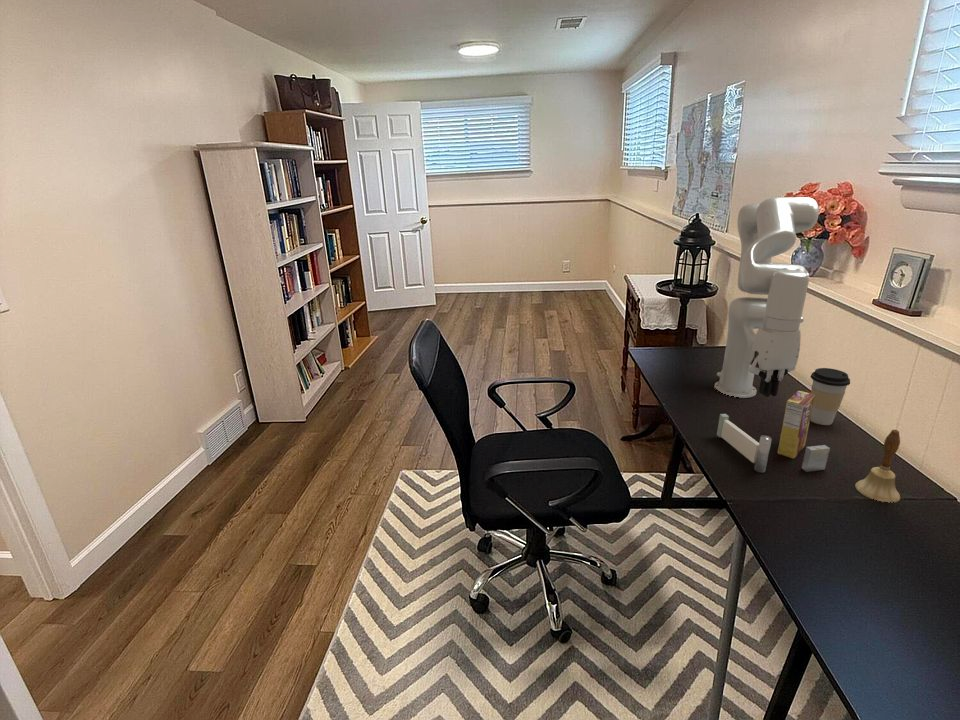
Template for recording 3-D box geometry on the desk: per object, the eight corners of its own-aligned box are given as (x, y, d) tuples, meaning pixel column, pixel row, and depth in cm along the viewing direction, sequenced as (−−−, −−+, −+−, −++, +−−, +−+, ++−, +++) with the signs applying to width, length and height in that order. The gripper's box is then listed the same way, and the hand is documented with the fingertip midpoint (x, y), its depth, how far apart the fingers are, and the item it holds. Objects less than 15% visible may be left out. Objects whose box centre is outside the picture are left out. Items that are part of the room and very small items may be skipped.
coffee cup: (845, 429, 143) (858, 380, 138) (808, 426, 145) (819, 378, 140) (831, 414, 152) (842, 367, 146) (796, 412, 153) (806, 366, 148)
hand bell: (907, 505, 111) (928, 442, 105) (862, 499, 113) (881, 437, 108) (890, 484, 118) (909, 423, 113) (849, 479, 121) (866, 419, 115)
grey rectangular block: (801, 468, 125) (806, 446, 123) (819, 465, 126) (824, 444, 124) (806, 471, 124) (811, 450, 122) (824, 469, 125) (830, 448, 123)
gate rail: (758, 463, 127) (762, 441, 124) (752, 464, 126) (756, 441, 124) (722, 434, 141) (725, 413, 138) (716, 434, 141) (720, 414, 138)
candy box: (787, 440, 138) (798, 389, 132) (804, 446, 135) (817, 394, 129) (775, 453, 132) (786, 400, 127) (793, 459, 129) (805, 405, 124)
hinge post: (752, 467, 126) (758, 435, 123) (760, 466, 126) (767, 434, 123) (758, 473, 124) (764, 440, 121) (767, 472, 124) (774, 439, 121)
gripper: (798, 317, 124) (784, 385, 131) (741, 321, 122) (729, 390, 129) (822, 325, 117) (806, 397, 124) (761, 330, 115) (748, 403, 122)
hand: (767, 393), depth 126 cm, fingers closed
